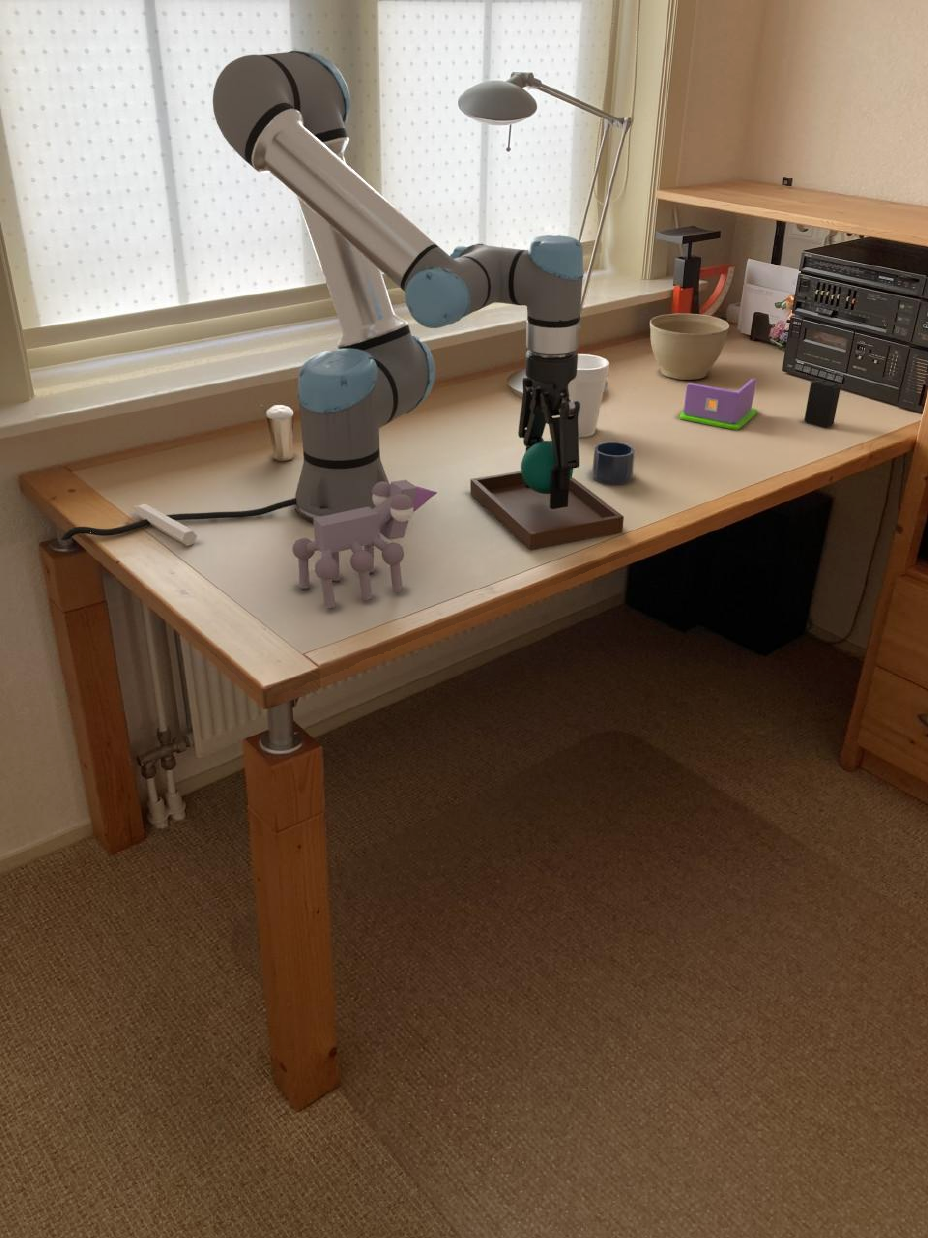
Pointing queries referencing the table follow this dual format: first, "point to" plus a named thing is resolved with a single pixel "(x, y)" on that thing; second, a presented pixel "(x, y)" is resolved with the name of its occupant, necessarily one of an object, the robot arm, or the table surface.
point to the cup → (613, 463)
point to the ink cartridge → (822, 403)
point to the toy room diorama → (719, 405)
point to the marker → (166, 524)
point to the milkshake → (281, 431)
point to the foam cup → (589, 390)
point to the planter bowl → (687, 343)
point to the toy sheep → (361, 537)
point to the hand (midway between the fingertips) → (545, 496)
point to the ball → (539, 467)
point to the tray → (545, 511)
